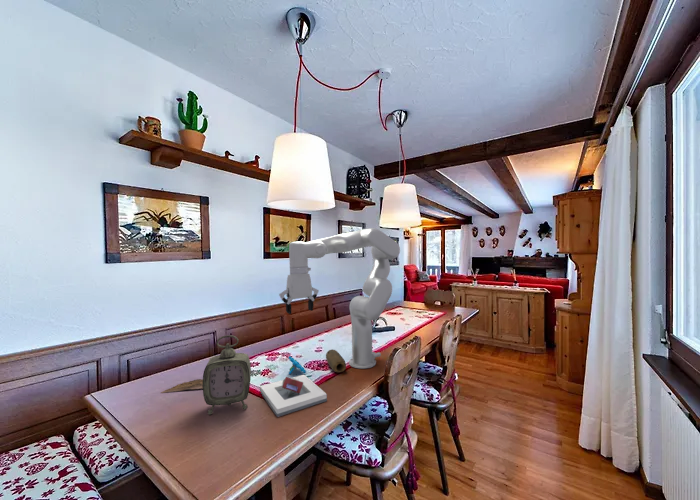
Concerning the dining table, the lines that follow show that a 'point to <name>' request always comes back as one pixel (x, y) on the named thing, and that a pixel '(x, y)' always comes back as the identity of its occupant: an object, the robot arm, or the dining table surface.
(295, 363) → the gear
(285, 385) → the geometric puzzle
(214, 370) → the tabletop clock
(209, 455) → the dining table surface
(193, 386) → the wooden fragment
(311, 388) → the square picture frame
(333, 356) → the stone weight
